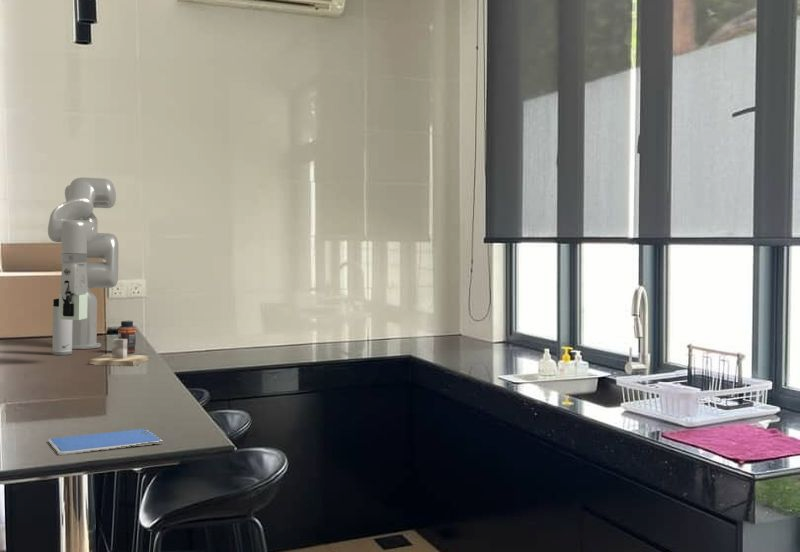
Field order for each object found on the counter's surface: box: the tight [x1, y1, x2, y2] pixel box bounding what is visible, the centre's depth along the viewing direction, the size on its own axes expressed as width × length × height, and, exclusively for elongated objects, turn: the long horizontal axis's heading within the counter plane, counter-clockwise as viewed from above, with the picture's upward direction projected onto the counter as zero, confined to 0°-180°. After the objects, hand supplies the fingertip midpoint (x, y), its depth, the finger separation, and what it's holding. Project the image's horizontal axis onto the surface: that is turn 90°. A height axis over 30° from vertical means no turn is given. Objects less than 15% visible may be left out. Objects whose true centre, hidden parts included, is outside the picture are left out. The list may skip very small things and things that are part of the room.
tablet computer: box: [47, 428, 163, 454], centre depth 157 cm, size 19×13×1 cm, turn 123°
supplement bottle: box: [117, 320, 137, 354], centre depth 284 cm, size 6×6×11 cm
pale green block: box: [58, 294, 88, 320], centre depth 255 cm, size 6×6×8 cm
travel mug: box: [52, 298, 73, 356], centre depth 275 cm, size 6×7×20 cm
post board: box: [89, 338, 149, 367], centre depth 261 cm, size 14×14×8 cm
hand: (73, 314), depth 255 cm, fingers closed on pale green block, 6 cm apart
